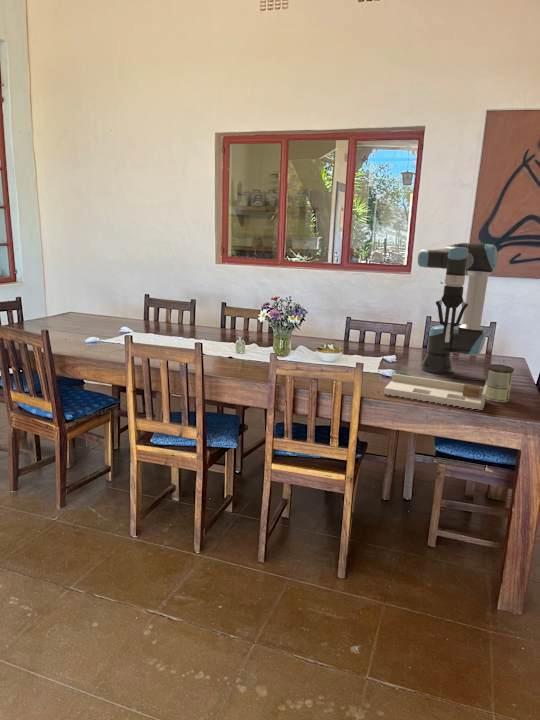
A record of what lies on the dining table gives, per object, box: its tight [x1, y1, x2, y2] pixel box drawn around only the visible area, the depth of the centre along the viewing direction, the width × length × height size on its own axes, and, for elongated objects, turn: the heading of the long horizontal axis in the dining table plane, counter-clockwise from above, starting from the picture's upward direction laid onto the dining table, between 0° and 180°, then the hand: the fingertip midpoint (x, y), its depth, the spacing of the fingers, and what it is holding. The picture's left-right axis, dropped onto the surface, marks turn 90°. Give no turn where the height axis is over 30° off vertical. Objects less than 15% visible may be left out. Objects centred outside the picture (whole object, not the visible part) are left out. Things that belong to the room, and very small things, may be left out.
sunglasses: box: [390, 370, 415, 382], centre depth 244 cm, size 14×15×5 cm
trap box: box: [383, 373, 488, 411], centre depth 224 cm, size 15×40×7 cm, turn 65°
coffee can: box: [485, 364, 515, 403], centre depth 225 cm, size 10×10×14 cm
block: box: [463, 383, 481, 398], centre depth 219 cm, size 5×6×4 cm
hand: (447, 341), depth 220 cm, fingers closed
